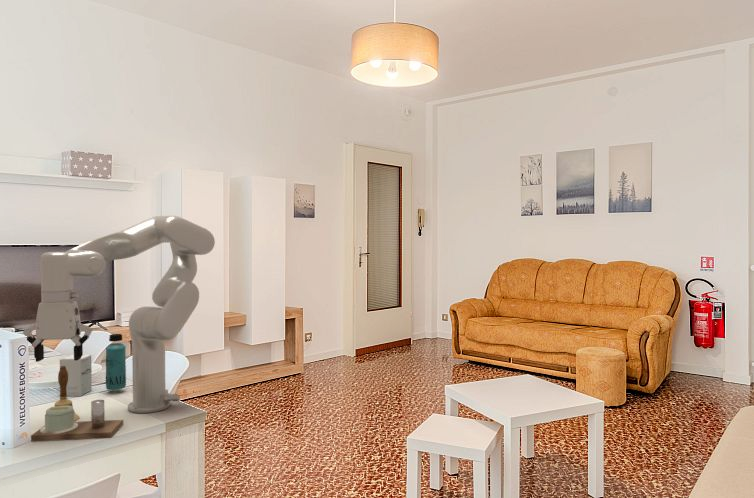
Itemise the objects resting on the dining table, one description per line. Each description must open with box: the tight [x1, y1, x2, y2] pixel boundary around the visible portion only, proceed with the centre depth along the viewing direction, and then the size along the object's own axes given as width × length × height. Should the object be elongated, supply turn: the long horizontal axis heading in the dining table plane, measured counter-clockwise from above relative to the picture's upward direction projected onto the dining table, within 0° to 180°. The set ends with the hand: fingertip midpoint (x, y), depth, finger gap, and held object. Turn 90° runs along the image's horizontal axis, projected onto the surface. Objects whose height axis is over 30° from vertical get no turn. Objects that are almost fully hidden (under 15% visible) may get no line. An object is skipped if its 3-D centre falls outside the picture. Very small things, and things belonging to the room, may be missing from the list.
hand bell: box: [53, 366, 80, 422], centre depth 163 cm, size 8×8×16 cm
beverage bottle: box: [105, 333, 127, 391], centre depth 192 cm, size 6×7×20 cm
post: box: [90, 399, 105, 429], centre depth 153 cm, size 3×3×7 cm
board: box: [30, 419, 124, 442], centre depth 153 cm, size 20×10×2 cm, turn 97°
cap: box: [44, 405, 75, 432], centre depth 152 cm, size 6×6×6 cm
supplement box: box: [59, 354, 93, 397], centre depth 190 cm, size 7×7×13 cm
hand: (58, 359), depth 152 cm, fingers open, 9 cm apart
